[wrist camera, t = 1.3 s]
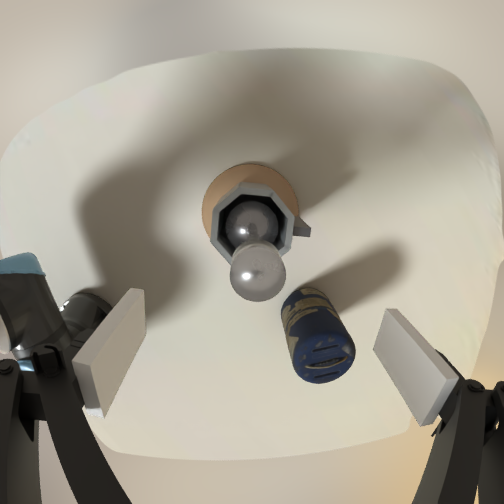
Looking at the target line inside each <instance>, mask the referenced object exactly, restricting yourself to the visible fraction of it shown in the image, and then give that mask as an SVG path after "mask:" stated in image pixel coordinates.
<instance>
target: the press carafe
mask: <svg viewBox="0 0 504 504" xmlns="http://www.w3.org/2000/svg"><path fill="white" fill-rule="evenodd" d="M246 201H258V202H261V203H263V204H265V205H267V206H268V207H269V208H270V209H271V210H272V211H273V212H274V214H275V216H276V218H277V221H278V234H277V237H276V239H275V241H274V242H273V243H272V244H273V245H274V246H275V247H276V249H277V250H278V252H279V254H280V256H283V255H284V254H285V253H287V252H288V251H289V250H290V249H291V242H292V234H293V236H303V237H310V232H311V228H310V227H309V226H308V225H307V224H306V223H305V222H304V221H303V220H302V219H301V218H300V217H299V216H298V203H297V199H296V196H295V193H294V191H293V189H292V187H291V186H290V184H289V183H288V182H287V181H286V179H285V178H284V177H283V176H281V175H280V174H279V173H277V172H276V171H274V170H272V169H270V168H268V167H265V166H262V165H256V164H246V165H239V166H235V167H233V168H230V169H228V170H226V171H224V172H223V173H222V174H220V175H219V176H218V177H217V178H216V179H215V180H214V181H213V182H212V183H211V185H210V186H209V188H208V190H207V191H206V194H205V196H204V200H203V204H202V220H203V224H204V228H205V230H206V232H207V234H208V236H209V238H210V242H211V244H212V245H213V246H214V247H215V248H216V249H217V250H218V252H219V253H220V254H221V255H222V256H223V257H224V258H225V259H226V261H227V262H228V263H229V264H230V265H231V262H232V256H233V254H234V252H235V250H236V249H237V248H236V247H234V246H233V245H232V244H231V242H230V241H229V239H228V237H227V234H226V221H227V218H228V215H229V214H230V212H231V211H232V209H233V208H235V207H236V206H237V205H239V204H240V203H243V202H246Z"/></svg>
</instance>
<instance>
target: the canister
mask: <svg viewBox="0 0 504 504" xmlns="http://www.w3.org/2000/svg"><path fill="white" fill-rule="evenodd" d="M281 319H282V323H283V327H284V331H285V335H286V341H287V345H288V349H289V352H290V356H291V360H292V364H293V367H294V370H295V372H296V373H297V374H298V376H299V377H301V378H302V379H303V380H305V381H307V382H310V383H316V384H321V383H327V382H330V381H333V380H335V379H337V378H339V377H340V376H342V375H343V374H345V373H346V372H347V371H348V369H349V368H350V367H351V365H352V363H353V361H354V359H355V354H356V350H355V344H354V342H353V340H352V338H351V336H350V335H349V333H348V332H347V330H346V328H345V326H344V325H343V323H342V321H341V320H340V317H339V316H338V314H337V312H336V310H335V309H334V307H333V306H332V304H331V303H330V302H329V300H328V298H327V297H326V296H325V295H324V294H323V293H322V292H320V291H318V290H315V289H311V288H306V289H301V290H298V291H296V292H294V293H292V294H291V295H290V296H289V297H288V298H287V299H286V300H285V302H284V304H283V306H282V309H281Z"/></svg>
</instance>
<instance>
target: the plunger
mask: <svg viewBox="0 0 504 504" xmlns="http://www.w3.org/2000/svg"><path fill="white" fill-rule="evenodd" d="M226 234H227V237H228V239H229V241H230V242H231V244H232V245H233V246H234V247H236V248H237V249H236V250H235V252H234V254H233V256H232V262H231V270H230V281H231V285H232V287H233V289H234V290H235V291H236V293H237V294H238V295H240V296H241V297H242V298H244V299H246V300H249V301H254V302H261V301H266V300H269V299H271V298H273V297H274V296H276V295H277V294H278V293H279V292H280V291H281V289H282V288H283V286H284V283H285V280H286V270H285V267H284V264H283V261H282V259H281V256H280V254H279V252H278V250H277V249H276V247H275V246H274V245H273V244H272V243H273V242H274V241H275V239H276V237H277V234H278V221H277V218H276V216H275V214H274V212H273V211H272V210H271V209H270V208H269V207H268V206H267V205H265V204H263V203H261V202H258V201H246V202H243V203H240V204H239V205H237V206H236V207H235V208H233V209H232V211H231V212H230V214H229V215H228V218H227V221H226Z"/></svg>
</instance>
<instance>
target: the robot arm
mask: <svg viewBox="0 0 504 504" xmlns="http://www.w3.org/2000/svg"><path fill="white" fill-rule="evenodd" d="M45 276H46V275H45V273H44V272H43V271H42V268H41V266H40V264H39V261H38V259H37V257H36V256H35V255H34V254H32V253H29V252H27V253H22V254H18V255H14V256H11V257H8V258H5V259H2V260H0V353H3V354H7V353H9V352H10V351H12V353H13V355H14V357H15V358H16V360H17V361H15V360H13V359H3V360H0V504H42V501H41V490H40V477H39V451H38V432H39V420H42V421H47V424H48V426H49V430H50V433H51V437H52V440H53V443H54V446H55V449H56V451H57V454H58V457H59V460H60V463H61V465H62V468H63V470H64V473H65V475H66V478H67V480H68V483H69V485H70V487H71V490H72V492H73V494H74V496H75V498H76V500H77V502H78V504H132V503H131V501H130V500H129V498H128V497H127V495H126V493H125V492H124V490H123V489H122V487H121V485H120V484H119V482H118V480H117V479H116V477H115V475H114V473H113V472H112V470H111V468H110V466H109V465H108V463H107V461H106V459H105V457H104V455H103V453H102V451H101V449H100V447H99V445H98V443H97V441H96V440H95V437H94V435H93V433H92V431H91V429H90V426H89V424H88V422H87V420H86V417H85V415H84V413H83V410H82V408H83V406H84V405H85V408H86V411H87V414H89V415H93V416H96V417H100V418H105V416H106V414H107V412H108V410H109V408H110V406H111V404H112V402H113V399H114V397H115V395H116V393H117V391H118V389H119V387H120V385H121V383H122V381H123V379H124V377H125V375H126V373H127V371H128V369H129V367H130V365H131V363H132V361H133V359H134V357H135V355H136V353H137V351H138V349H139V347H140V346H141V344H142V342H143V340H144V338H145V336H146V322H145V302H144V289H137V288H130V289H129V290H128V291H127V292H126V294H125V295H124V296H123V297H122V298H121V300H120V301H119V302H118V303H117V304H116V306H115V307H114V308H112V307H111V306H110V305H109V304H108V303H107V302H105V301H104V300H102V299H101V298H99V297H97V296H95V295H92V294H88V293H79V294H75V295H73V296H72V297H70V298H69V299H68V300H67V301H66V302H65V303H64V304H63V306H62V307H61V309H60V311H59V308H58V306H57V304H56V302H55V300H54V297H53V295H52V293H51V290H50V288H49V286H48V283H47V281H46V278H45ZM373 350H374V352H375V353H376V355H377V357H378V358H379V360H380V361H381V363H382V365H383V366H384V368H385V369H386V371H387V373H388V374H389V376H390V377H391V379H392V381H393V382H394V384H395V386H396V387H397V389H398V390H399V392H400V394H401V395H402V397H403V399H404V400H405V402H406V404H407V405H408V407H409V409H410V410H411V412H412V414H413V416H414V417H415V419H416V421H417V422H418V424H419V426H425V425H430V424H433V422H434V421H435V419H436V418H437V416H438V414H439V415H440V417H441V418H442V420H441V421H440V423H439V425H438V426H437V428H436V429H435V431H434V432H433V434H432V435H431V436H432V437H433V436H434V434H436V436H435V440H434V443H433V446H432V449H431V453H430V456H429V459H428V462H427V465H426V468H425V471H424V474H423V476H422V480H421V482H420V485H419V487H418V490H417V492H416V495H415V497H414V500H413V502H412V504H474V500H475V496H476V490H477V486H478V496H479V504H504V381H500V382H497V384H496V386H495V388H494V389H493V390H485V388H484V386H483V385H482V384H481V383H480V382H478V381H476V380H472V379H468V380H465V379H464V377H463V376H462V375H461V374H460V373H459V372H458V371H457V369H456V368H455V367H454V366H452V364H451V363H450V362H449V361H448V359H447V358H446V357H445V356H444V355H443V354H442V353H440V352H439V351H437V350H436V349H434V348H433V347H432V346H431V345H430V344H429V343H428V342H427V340H426V339H425V338H424V337H423V336H422V335H421V334H420V333H419V332H418V331H417V330H416V329H415V327H414V326H413V325H412V324H411V323H410V322H409V321H408V320H407V319H406V318H405V317H404V316H403V315H402V314H401V313H400V312H399V311H398V309H385V313H384V316H383V320H382V323H381V326H380V329H379V332H378V336H377V339H376V342H375V345H374V348H373ZM498 422H499V425H498V428H497V429H496V425H497V423H498Z"/></svg>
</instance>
